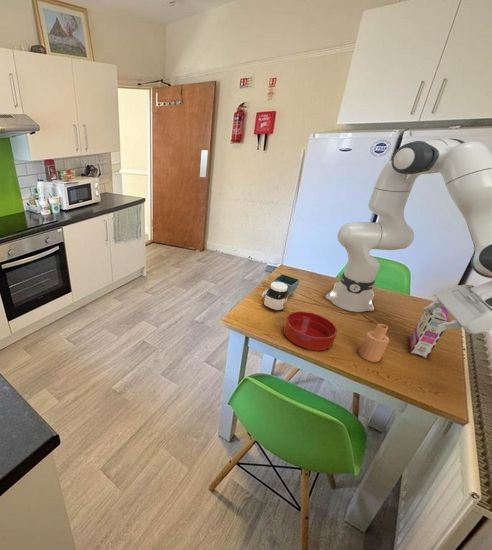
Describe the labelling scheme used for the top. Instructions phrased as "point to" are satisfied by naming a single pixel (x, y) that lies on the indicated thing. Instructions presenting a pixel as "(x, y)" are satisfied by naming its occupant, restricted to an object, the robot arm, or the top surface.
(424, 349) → the candy bar box
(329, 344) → the bowl
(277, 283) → the spread jar
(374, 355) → the bottle
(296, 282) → the flower pot
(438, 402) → the top surface
